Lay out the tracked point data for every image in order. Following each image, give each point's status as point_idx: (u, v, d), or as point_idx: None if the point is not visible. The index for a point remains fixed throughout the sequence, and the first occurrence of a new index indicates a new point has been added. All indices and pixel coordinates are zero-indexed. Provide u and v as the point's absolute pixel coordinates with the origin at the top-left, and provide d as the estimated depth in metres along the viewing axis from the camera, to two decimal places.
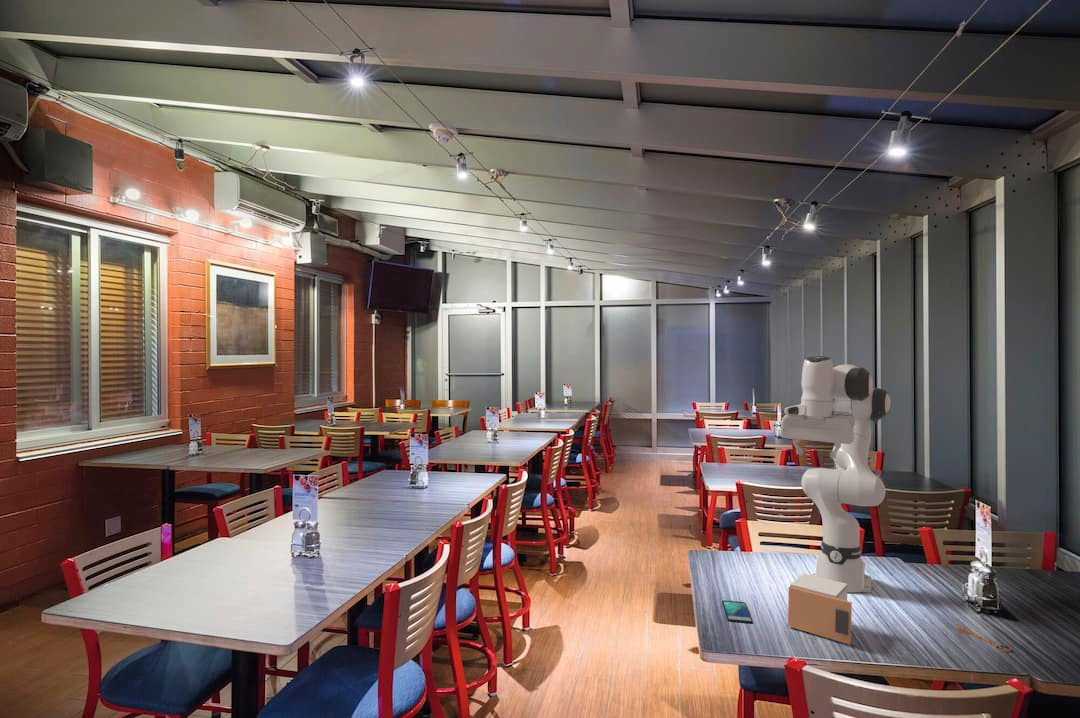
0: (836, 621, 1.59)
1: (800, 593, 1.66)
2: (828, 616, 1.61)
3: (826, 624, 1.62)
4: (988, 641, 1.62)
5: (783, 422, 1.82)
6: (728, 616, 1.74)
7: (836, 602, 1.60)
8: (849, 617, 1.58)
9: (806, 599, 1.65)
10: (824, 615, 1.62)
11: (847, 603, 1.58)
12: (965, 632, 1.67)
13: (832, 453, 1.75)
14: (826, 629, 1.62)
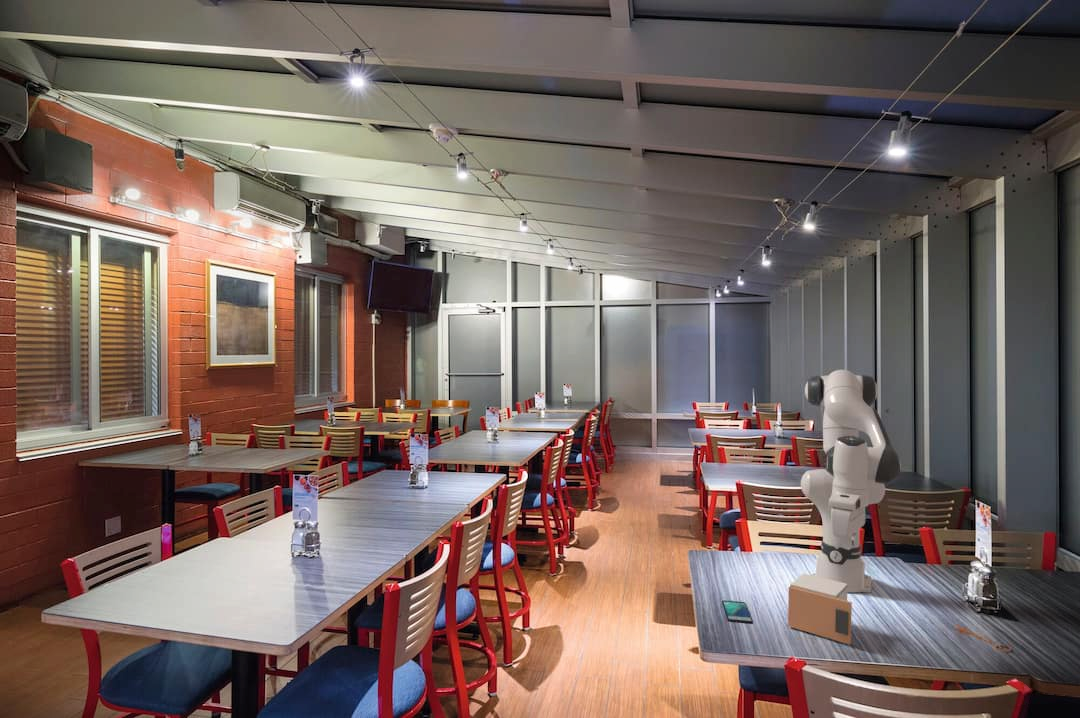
0: (836, 621, 1.59)
1: (800, 593, 1.66)
2: (828, 616, 1.61)
3: (826, 624, 1.62)
4: (988, 641, 1.62)
5: (850, 521, 1.53)
6: (728, 616, 1.74)
7: (836, 602, 1.60)
8: (849, 617, 1.58)
9: (806, 599, 1.65)
10: (824, 615, 1.62)
11: (847, 603, 1.58)
12: (965, 632, 1.67)
13: (854, 541, 1.62)
14: (826, 629, 1.62)
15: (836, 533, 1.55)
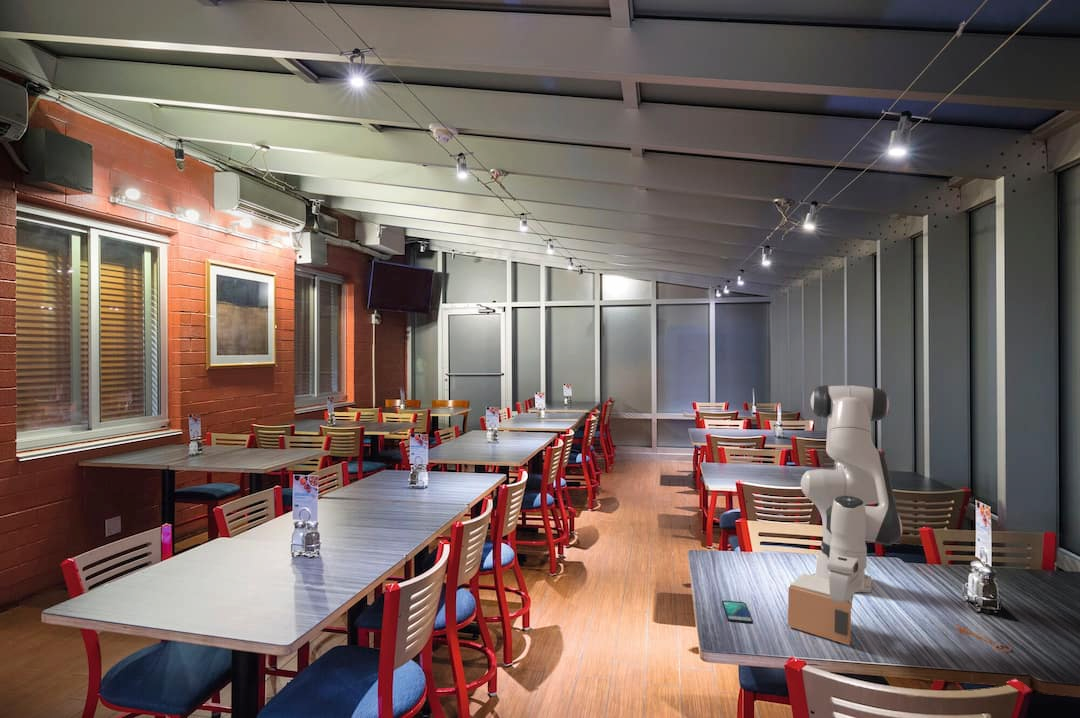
0: (835, 621, 1.59)
1: (800, 593, 1.66)
2: (827, 616, 1.61)
3: (825, 624, 1.61)
4: (988, 641, 1.62)
5: (848, 585, 1.52)
6: (728, 616, 1.74)
7: (835, 603, 1.60)
8: (848, 618, 1.57)
9: (806, 599, 1.65)
10: (823, 615, 1.62)
11: (846, 604, 1.58)
12: (965, 632, 1.67)
13: (851, 604, 1.60)
14: (825, 629, 1.61)
15: (834, 597, 1.53)
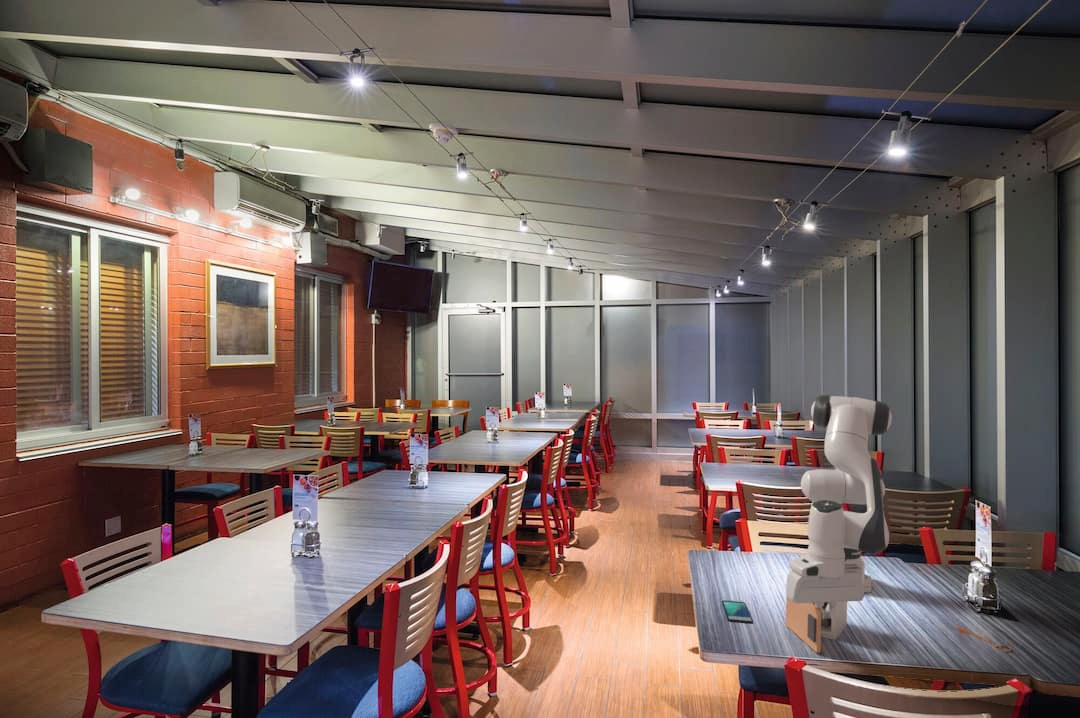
0: (808, 626, 1.56)
1: None
2: (805, 620, 1.58)
3: (804, 628, 1.59)
4: (988, 641, 1.62)
5: (798, 586, 1.51)
6: (728, 616, 1.74)
7: (810, 607, 1.56)
8: (816, 624, 1.53)
9: None
10: (803, 619, 1.59)
11: (815, 609, 1.54)
12: (965, 632, 1.67)
13: (829, 613, 1.54)
14: (804, 633, 1.59)
15: (787, 595, 1.54)
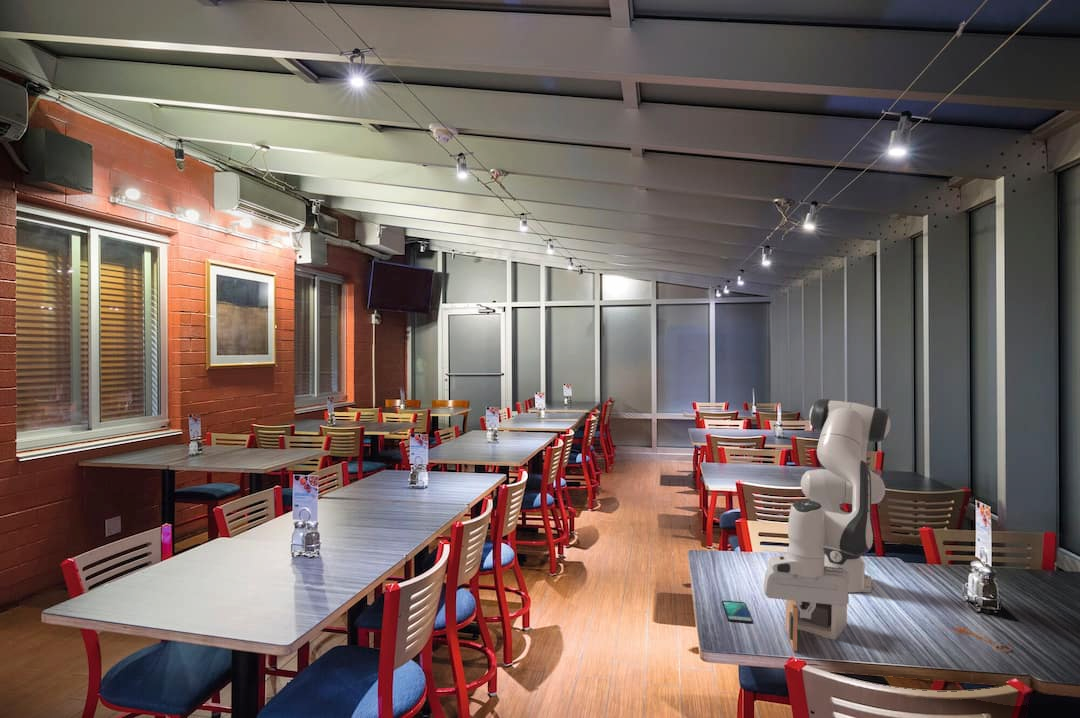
0: (789, 624, 1.57)
1: None
2: None
3: None
4: (988, 641, 1.62)
5: (769, 581, 1.54)
6: (728, 616, 1.74)
7: (791, 606, 1.57)
8: (793, 622, 1.54)
9: None
10: None
11: (793, 607, 1.55)
12: (965, 632, 1.67)
13: (808, 614, 1.53)
14: None
15: None
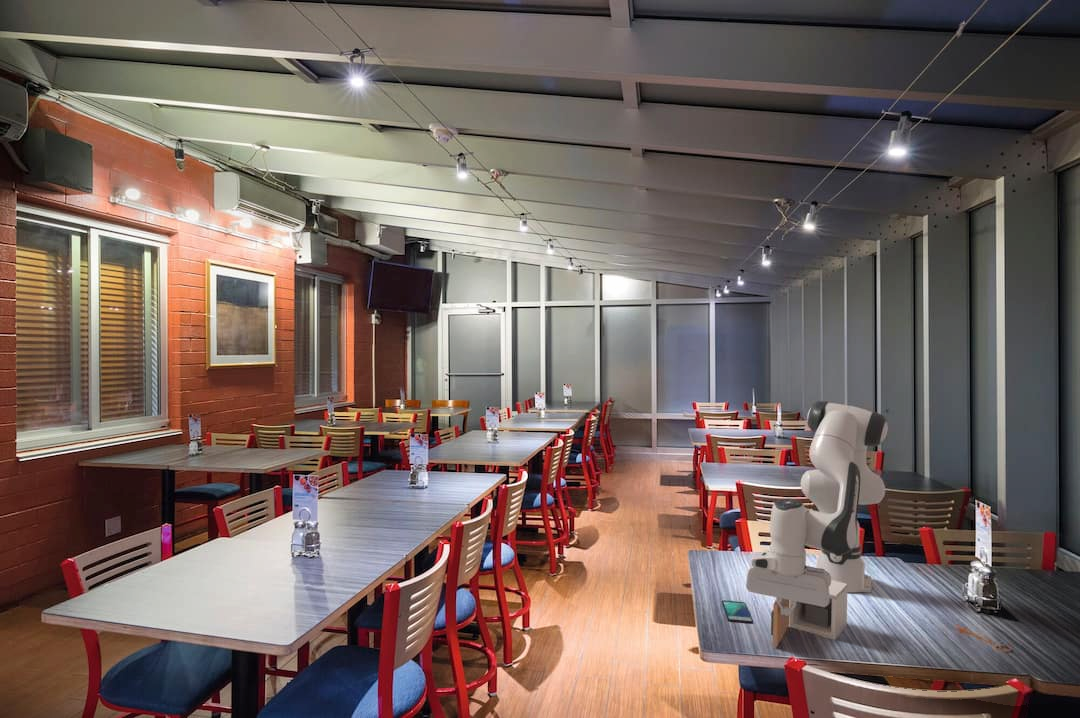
0: None
1: None
2: None
3: None
4: (988, 641, 1.62)
5: (749, 575, 1.58)
6: (728, 616, 1.74)
7: None
8: (773, 618, 1.56)
9: None
10: None
11: (774, 604, 1.57)
12: (965, 632, 1.67)
13: (788, 611, 1.55)
14: None
15: None
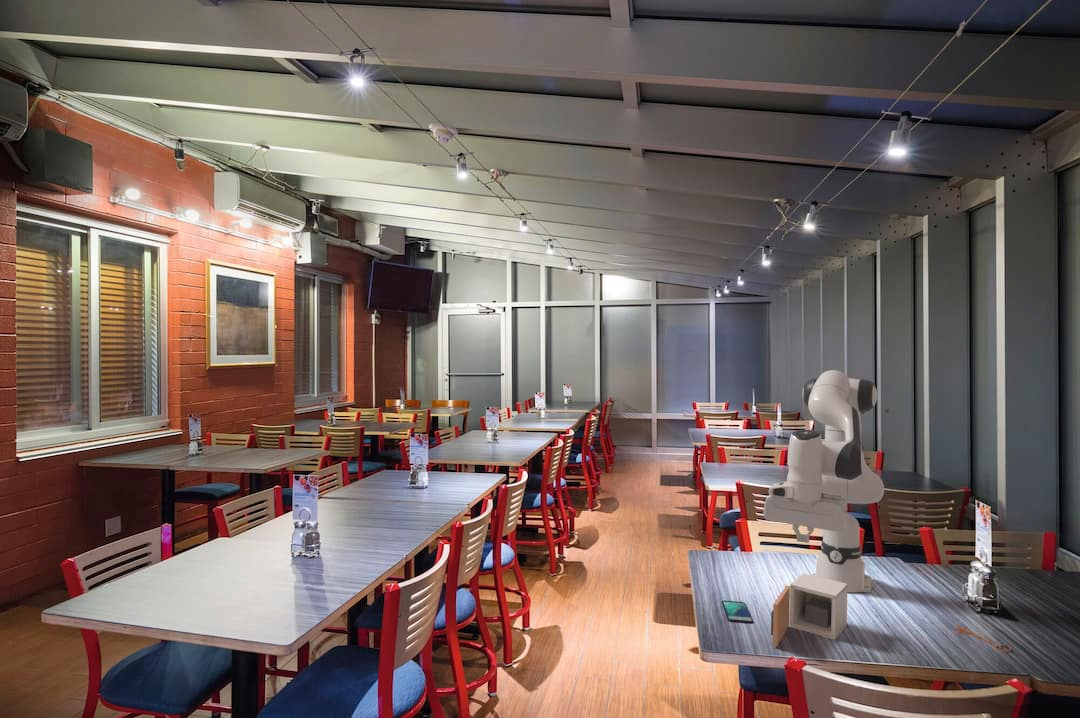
0: None
1: None
2: None
3: None
4: (988, 641, 1.62)
5: (766, 503, 1.63)
6: (728, 616, 1.74)
7: None
8: (773, 618, 1.56)
9: None
10: None
11: (774, 604, 1.57)
12: (965, 632, 1.67)
13: (805, 537, 1.59)
14: None
15: None
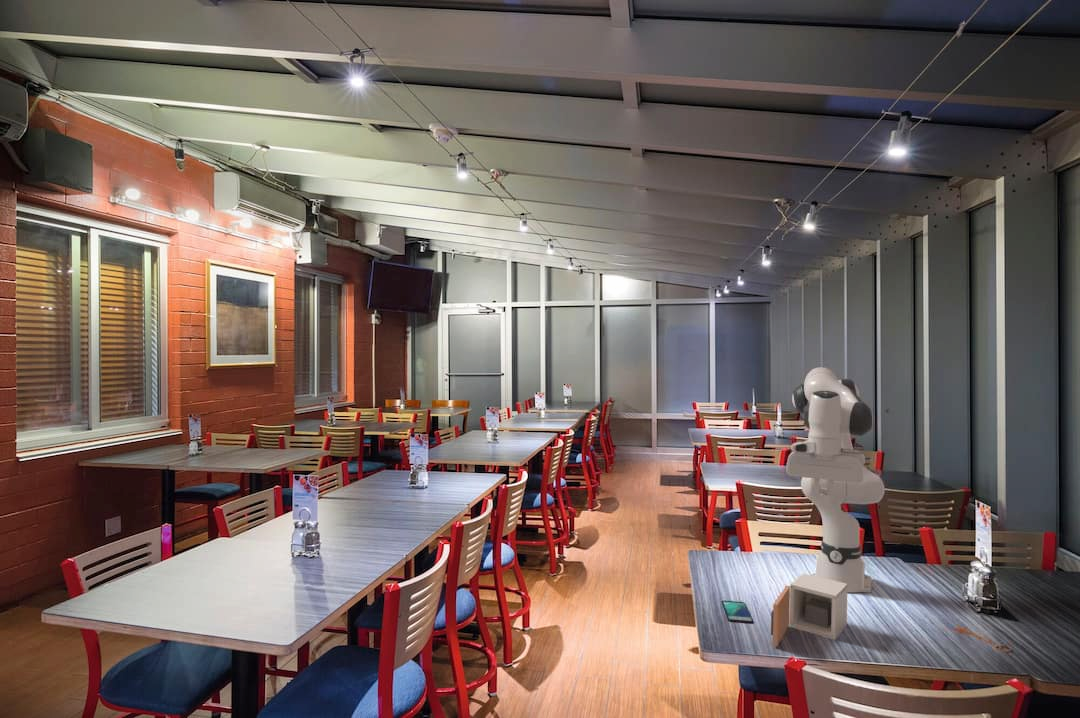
0: None
1: None
2: None
3: None
4: (988, 641, 1.62)
5: (789, 460, 1.75)
6: (728, 616, 1.74)
7: None
8: (773, 618, 1.56)
9: None
10: None
11: (774, 604, 1.57)
12: (965, 632, 1.67)
13: (826, 490, 1.71)
14: None
15: None
